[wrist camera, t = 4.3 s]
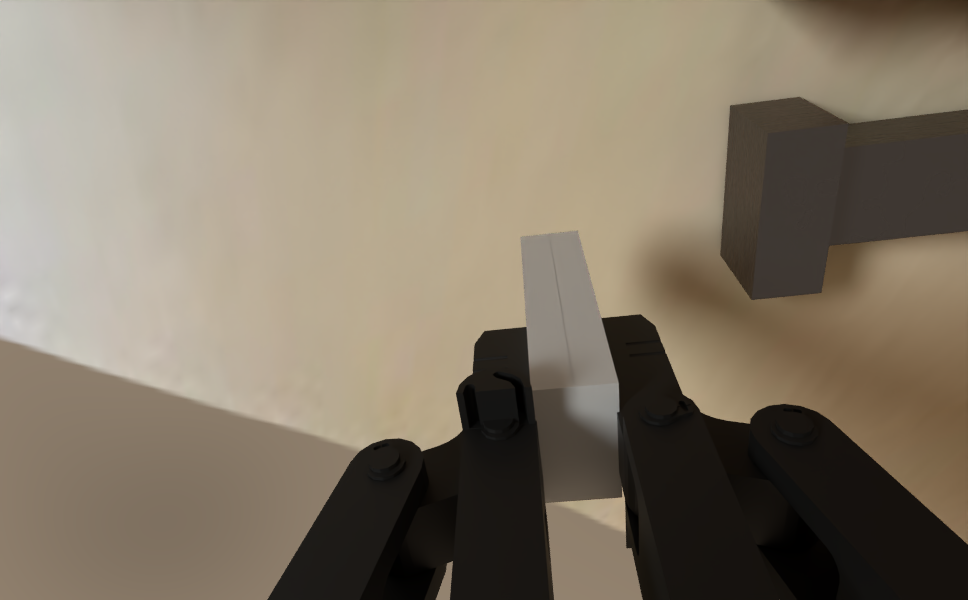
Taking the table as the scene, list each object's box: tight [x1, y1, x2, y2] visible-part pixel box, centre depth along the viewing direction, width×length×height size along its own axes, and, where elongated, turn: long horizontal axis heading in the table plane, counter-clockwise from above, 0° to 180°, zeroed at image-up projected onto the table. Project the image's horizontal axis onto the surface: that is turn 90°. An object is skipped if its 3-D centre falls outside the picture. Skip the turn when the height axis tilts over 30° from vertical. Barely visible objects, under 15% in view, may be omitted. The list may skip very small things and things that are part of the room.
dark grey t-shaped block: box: [720, 97, 968, 300], centre depth 18 cm, size 10×5×3 cm, turn 97°
